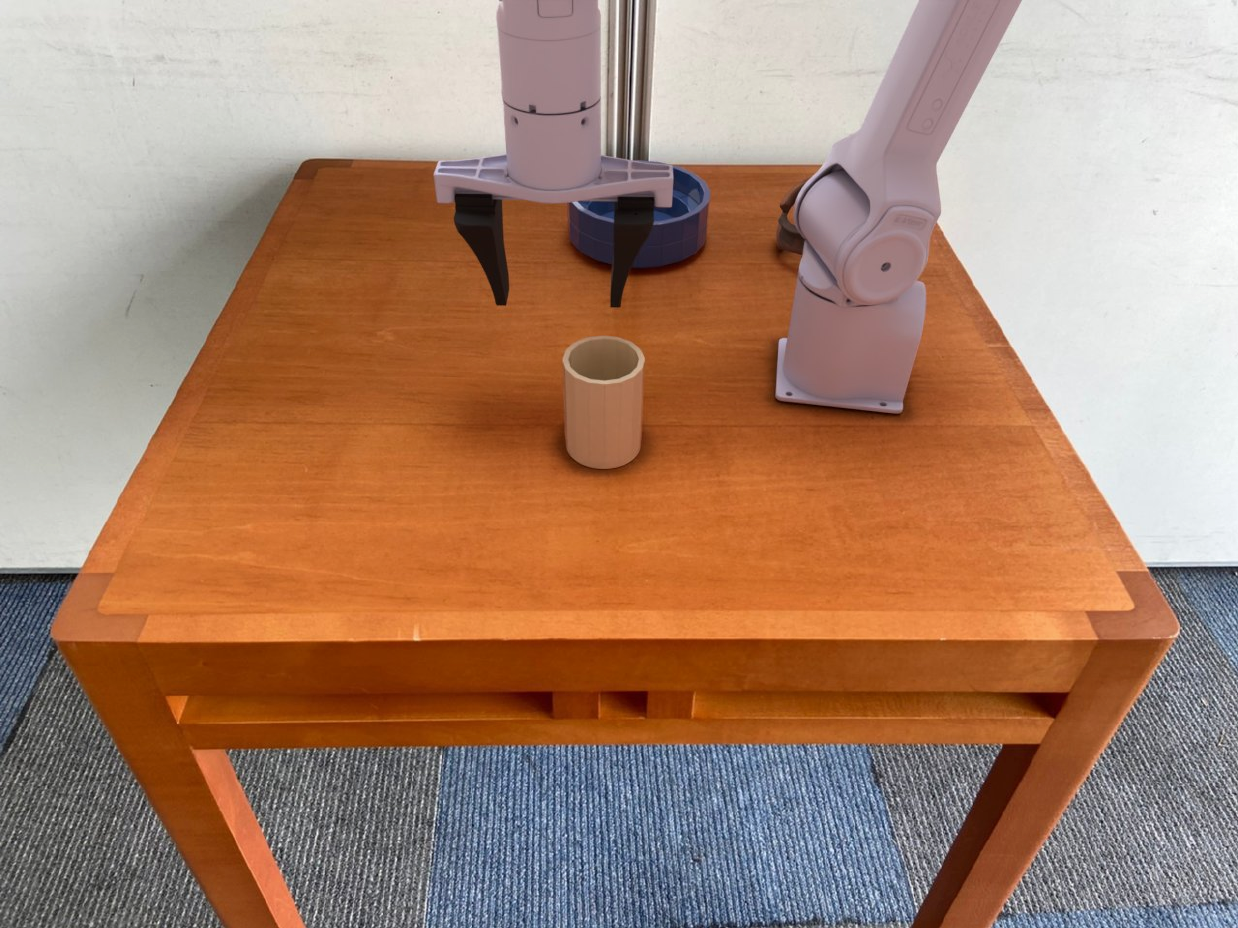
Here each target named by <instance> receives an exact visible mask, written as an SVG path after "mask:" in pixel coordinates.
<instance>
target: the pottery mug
mask: <svg viewBox="0 0 1238 928" xmlns="http://www.w3.org/2000/svg"><path fill="white" fill-rule="evenodd" d="M811 177H812V176H810V177H807V178H806V179H803V180H802V181H800V182H798V183H797V184H796V185H794V186H793V187H792V188H790V190H789V191H787V193H786V194H785V195H784V196H783V198H782V199H781V201H780V203H779V209H780V210H781V211H782V212H781V214H780V216H779V217H778V218H777V219H778V220H777V222H778V223H777V227H776V233H775V237H776V245H777V248H778V250H779V251H782V250H784V251H787V252H790V253H793V254H796V255H800V256H803V255H802V254H803V248H804V242H805V239H804V238H803V237H802V236H801V234H800V233H799V232H798V230H797V228H796V226H795V224H793V223H791V221H790V220H789V219H788V214H789V212H790V210H791V209H792V207H794V205H795V201H796V198H797V196H798V194H799V192H800V190H801V189H802V187H803V186H804V185H805V183H806V182H807V181H808V180H809V179H810V178H811Z"/></svg>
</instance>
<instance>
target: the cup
mask: <svg viewBox="0 0 1238 928" xmlns="http://www.w3.org/2000/svg"><path fill="white" fill-rule="evenodd" d="M561 359H562V360H561V361H562V363H561V364H562V365H561V366H562V391H563V392H562V393H563V394H562V395H563V421H564V439H565V447H566V451H567V453H568V455H569V456H570V458H572V459H573V460H574V461H575V462H576V463H578V464H580V465H582V466H585V467H588V468H591V469H598V470H610V469H616V468H619V467H622V466H625V465H627V464H629V463H630V462H632V461H633V460H634V459H635V458H636V457H637V456H638V455H639V453H640V451H641V447H642V438H643V418H644V417H643V415H644V394H645V393H644V392H645V372H646V371H645V367H646V357H645V356H644V353H643V351H642V349H641V348H640V347H639V346H637V345H636V344H635V343H633V341H630V340H627V339H625V338H623V337H619V336H611V335H595V336H594V335H593V336H588V337H585V338H581V339H580V340H577V341H575V342H573V343H572V344H571V345H569V347H567V348H566V349H565V351H564V354H563V357H562V358H561Z"/></svg>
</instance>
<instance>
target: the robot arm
mask: <svg viewBox="0 0 1238 928" xmlns="http://www.w3.org/2000/svg"><path fill="white" fill-rule="evenodd" d="M1022 1H1023V0H918V1H917V4H916V6H915V8H914V10H913V13H912V15H911V17H910V19H909V21H908V23H907V24H906V27H905V29H904V32H903V34H902V37H901V39H900V41H899V43H898V45H897V47H896V50H895V52H894V54H893V55H892V58H891V60H890V63H889V64H888V67H887V69H886V71H885V74H884V76H883V79H882V80H881V82H880V84H879V87H878V89H877V91H876V93H875V95H874V97H873V99H872V102H871V104H870V106H869V108H868V110H867V112H866V115H865V118H864V119H863V121H862V124H861V126H860V128H859V129H858V130H857V131H855V132H854V133H851V134H849V135H847V136H845V137H843V138H841V139H839V140H838V141H836V142H834V143H833V145H832V146H831V148H830V150H829V153H828V154H827V157H826V158H825V161H824V162H823V163H822V166H821V167H820V168H819V169H818V170H817V171H816V172H815V173H814V174H813V175H812V176H810V177H811V178H810V177H809V178H810V179H809V180H808V181H807V182H806V183H805V185H804V186H803V187H802V189H801V190H800V192H799V194H798V196H797V198H796V201H795V204H794V205H793V212H792V213H793V223H794V225H795V226H796V228H797V230H798V232H799V233H800V234H801V236H802V237H803V238H804V239H805V242H804V248H803V254H802V255H801V259H800V262H799V265H798V271H797V277H796V284H795V290H794V295H793V302H792V308H791V312H790V313H791V314H790V320H789V326H788V331H787V337H782V338H780V339H779V340H778V344H777V361H776V376H775V377H776V379H775V396H774V397H775V399H777V400H778V401H780V402H788V403H797V404H804V405H805V404H806V405H814V406H815V405H816V406H823V407H834V408H842V409H851V410H858V411H859V410H860V411H868V412H869V411H870V412H879V413H888V414H895V415H897V414H901V413H902V412H903V410H904V398H905V396H906V392H907V388H908V384H909V382H910V379H911V374H912V371H913V368H914V364H915V361H916V358H917V353H918V350H919V346H920V343H921V339H922V336H923V335H922V334H923V330H924V324H925V319H926V311H927V289H926V284H925V283H924V282H923V281H920V280H919V278H920V277H921V275H922V273H923V271H924V270H925V268H926V265H927V263H928V259H929V255H930V253H929V252H930V241H931V237H932V233H933V230H934V228H935V227H936V224H937V222H938V220H939V218H940V217H941V215H942V203H941V196H940V195H941V194H940V188H939V181H938V180H939V178H938V171H937V165H938V162H939V160H940V158H941V157H942V155H943V152H944V150H945V149H946V147H947V145H948V143H949V141H950V139H951V137H952V135H953V133H954V131H955V129H956V127H957V125H958V124H959V122H960V120H961V118H962V117H963V114H964V112H965V111H966V108H967V107H968V105H969V103H970V101H971V99H972V98H973V95H974V93H975V91H976V89H977V87H978V85H979V83H980V82H981V80H982V78H983V77H984V74H985V71H986V70H987V68H988V66H989V64H990V63H991V61H992V58H993V57H994V55H995V53H996V51H997V50H998V47H999V46H1000V43H1001V42H1002V40H1003V37H1004V35H1005V34H1006V32H1007V30H1008V28H1009V25H1011V22H1012V21H1013V18H1014V17H1015V14H1016V13H1017V12H1018V9H1019V7H1020V5H1021V4H1022ZM495 21H496V34H497V47H498V49H497V50H498V60H499V62H498V63H499V76H500V89H501V91H500V92H501V101H502V113H503V115H502V116H503V126H504V127H503V128H504V139H505V141H504V142H505V154H496V155H490V156H489V155H488V156H481V157H475V158H466V159H454V160H449V159H448V160H442V159H441V160H438V162H437V163H436V167H435V168H434V172H433V180H434V181H433V182H434V188H435V195H436V196H435V197H436V203H438V204H455V206H454V216H453V223H454V226H455V229H456V231H457V233H458V234H459V235H460V236H461V238H463V240H464V241H465V243H466V244H467V245H468V247H469V248H470V250H471V251H472V252H473V254H474V256H475V257H476V259H477V260H478V262H479V265H480V266H481V268H482V270H483V272H484V274H485V276H486V279H487V281H488V284H489V286H490V288H491V292H492V295H493V299H494V301H495V305H496V306H501V307H502V306H503V307H504V306H507V303H508V298H509V293H510V276H509V268H508V262H507V254H506V248H505V239H504V238H505V237H504V219H503V216H504V215H503V200H507V201H529V202H532V203H539V204H547V205H548V204H550V205H551V204H553V205H554V204H555V205H558V204H567V203H569V202H576V201H614V202H615V206H614V254H613V263H612V264H611V275H610V295H609V296H610V298H609V300H610V301H609V302H610V303H609V304H610V305H609V306H610V308H613V309H616V308H617V309H618V308H621V307H622V300H623V299H622V298H623V294H624V290H625V286H626V283H627V280H628V277H629V274H630V272H631V269H632V268H631V267H632V265H633V262H634V260H635V258H636V256H637V254H638V253H639V251H640V249H641V247H642V246H643V244H644V242H645V241H646V240H647V238H648V237H649V235H650V232H651V230H652V227H653V224H654V205H655V206H656V207H672V195H673V166H672V165H673V164H670V165H667V164H668V163H666V164H652V163H645V162H638V161H633V159H632V160H631V159H627V158H620V157H615V156H609V155H605V154H602V49H601V48H602V47H601V46H602V35H601V34H602V29H601V28H602V27H601V26H602V14H601V10H600V9H599V0H498V6H497V8H496V14H495Z"/></svg>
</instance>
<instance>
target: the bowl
mask: <svg viewBox="0 0 1238 928" xmlns="http://www.w3.org/2000/svg"><path fill="white" fill-rule="evenodd" d="M632 160H633V159H632ZM633 161H638V162H645V163H652V164H667V165H672V166H673V195H672V207H656V206H655V205H654V224H653V227H652V230H651V232H650V235H649V237H648V238H647V240H646V241H645V242H644V244H643V246H642V247H641V249H640V251H639V253H638V254H637V256H636V258H635V260H634V262H633V265H632V267H631V269H649V268H658V267H663V266H667V265H671V264H675V263H679V262H683V261H684V260H687V259H688V258H690V257H691V256H694V255H695V254H697V253H698V252H699V251H700V250H701V249H702V248H703V246H704V245H706V241H707V237H708V229H709V217H710V207H711V194H712V192H711V190H710V188H709V186H708V184H707V182H706V181H705V180H703V178H702V177H700V176H699V175H697V174H696V173H695V172H692V171H691V170H688V169H686V168H683V167H681V166H678V165H674V164H670V163H667V162H666V163H665V162H661V161H651V160H641V159H634V160H633ZM614 206H615V202H614V201H576V202H569V203H566V211H567V213H566V214H567V215H566V216H567V233H568V237H569V241H570V244H572V245H573V246H574V247H575V248H576V249H577V250H578V251H579V252H580V253H582V254H583V255H585V256H587V257H589V258H591V259H593V260H595V261H598V262H601V263H602V262H603V263H604V264H605V263H606V264H609V265H612V263H613V254H614Z"/></svg>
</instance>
